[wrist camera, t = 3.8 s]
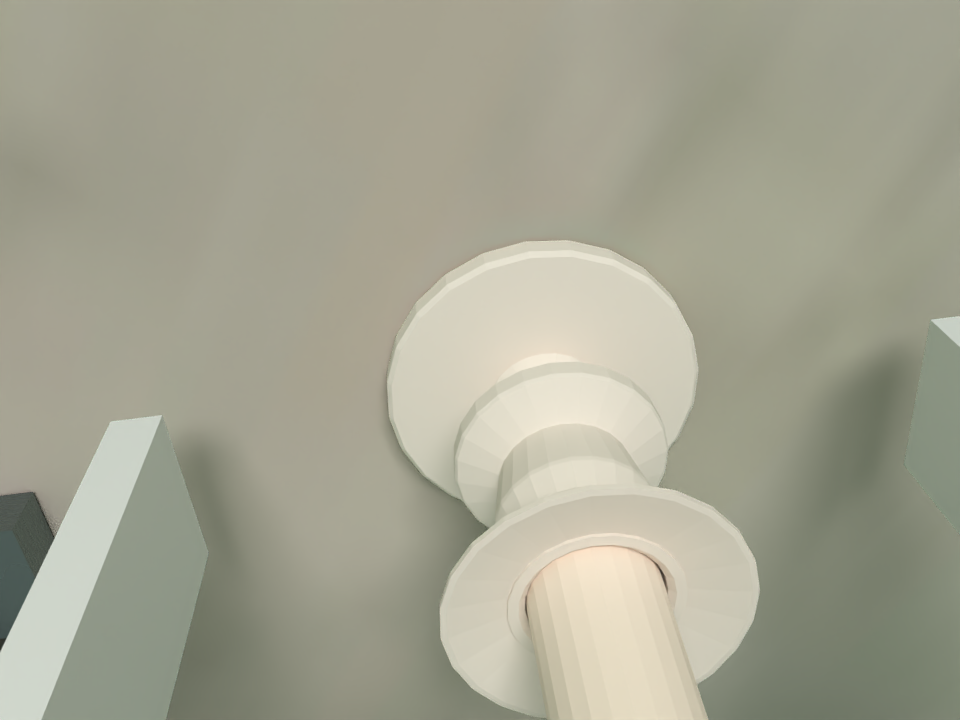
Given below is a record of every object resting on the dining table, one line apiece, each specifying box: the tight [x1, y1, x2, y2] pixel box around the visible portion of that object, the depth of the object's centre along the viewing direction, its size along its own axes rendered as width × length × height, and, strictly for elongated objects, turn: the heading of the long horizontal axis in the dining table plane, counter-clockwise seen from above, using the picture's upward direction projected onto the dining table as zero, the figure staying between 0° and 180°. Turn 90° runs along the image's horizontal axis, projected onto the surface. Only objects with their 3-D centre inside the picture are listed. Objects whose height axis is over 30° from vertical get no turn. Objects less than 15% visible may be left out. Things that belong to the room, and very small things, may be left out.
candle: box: [387, 240, 760, 720], centre depth 11 cm, size 5×5×10 cm
